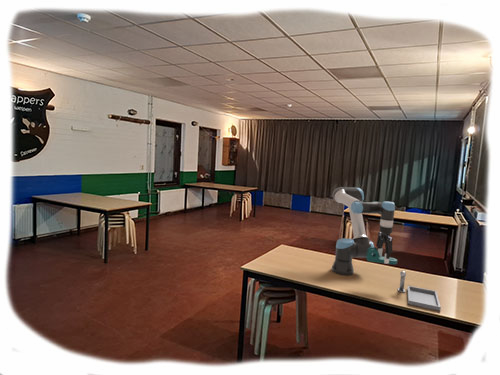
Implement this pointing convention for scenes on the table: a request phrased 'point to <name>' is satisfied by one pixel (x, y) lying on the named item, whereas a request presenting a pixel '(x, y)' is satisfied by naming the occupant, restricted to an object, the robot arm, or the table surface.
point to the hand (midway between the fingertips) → (382, 260)
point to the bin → (423, 298)
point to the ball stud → (402, 282)
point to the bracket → (377, 256)
